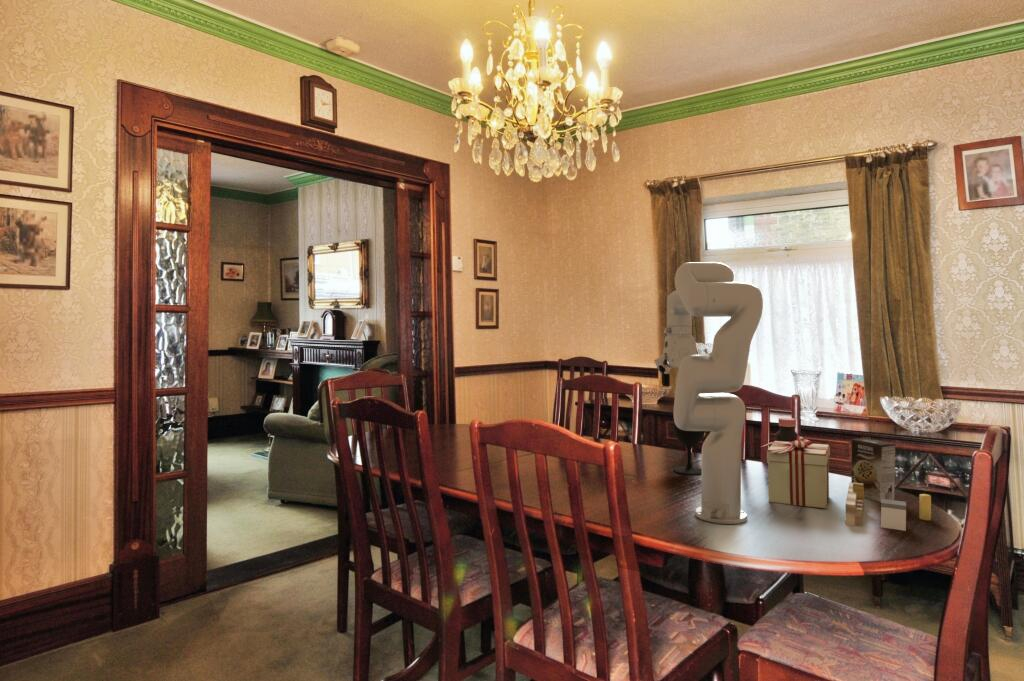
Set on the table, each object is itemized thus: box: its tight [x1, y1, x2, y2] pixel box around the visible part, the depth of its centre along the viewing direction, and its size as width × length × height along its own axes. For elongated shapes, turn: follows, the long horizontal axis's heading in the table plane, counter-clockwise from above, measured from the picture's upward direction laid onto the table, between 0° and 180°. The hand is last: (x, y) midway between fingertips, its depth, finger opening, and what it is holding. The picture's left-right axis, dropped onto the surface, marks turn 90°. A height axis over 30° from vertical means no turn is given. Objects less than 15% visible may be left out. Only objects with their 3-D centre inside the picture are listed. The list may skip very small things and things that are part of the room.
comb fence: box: [844, 482, 865, 527], centre depth 157 cm, size 24×4×7 cm, turn 148°
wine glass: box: [672, 421, 706, 476], centre depth 202 cm, size 10×10×20 cm
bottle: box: [774, 417, 800, 442], centre depth 187 cm, size 7×7×20 cm
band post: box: [918, 493, 932, 521], centre depth 151 cm, size 2×2×6 cm
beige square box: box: [880, 499, 907, 532], centre depth 146 cm, size 4×5×6 cm
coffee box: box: [850, 437, 896, 503], centre depth 171 cm, size 9×6×16 cm
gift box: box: [760, 435, 831, 510], centre depth 169 cm, size 17×18×17 cm
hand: (679, 386), depth 190 cm, fingers open, 9 cm apart
